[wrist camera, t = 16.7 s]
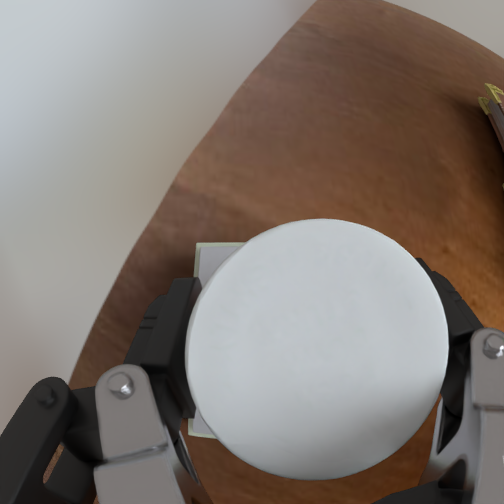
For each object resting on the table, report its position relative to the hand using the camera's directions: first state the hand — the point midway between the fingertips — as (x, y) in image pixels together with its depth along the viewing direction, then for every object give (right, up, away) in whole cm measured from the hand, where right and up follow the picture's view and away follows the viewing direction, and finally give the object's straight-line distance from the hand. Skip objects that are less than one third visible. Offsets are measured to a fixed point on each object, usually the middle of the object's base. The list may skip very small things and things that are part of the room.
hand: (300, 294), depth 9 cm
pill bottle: (+1, -4, +7) cm, 8 cm away
